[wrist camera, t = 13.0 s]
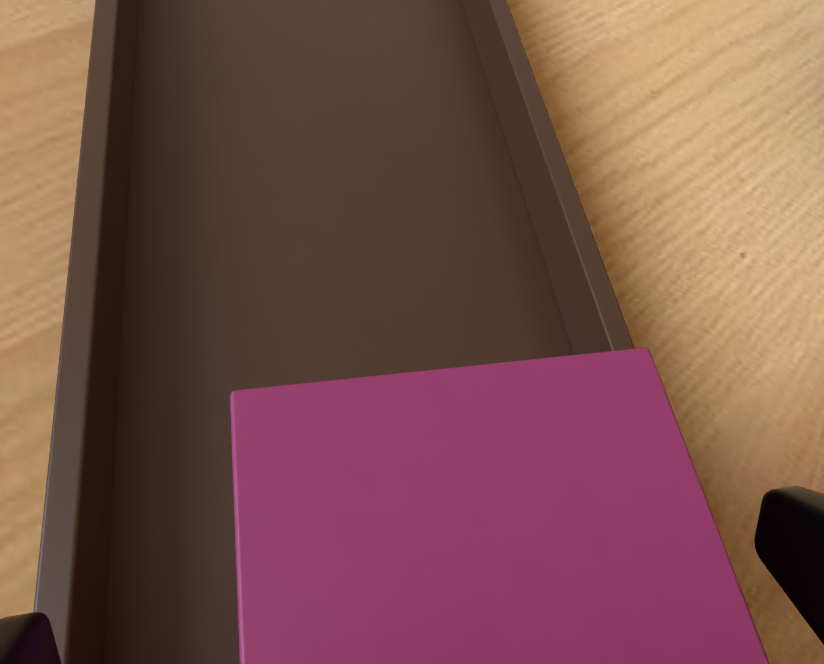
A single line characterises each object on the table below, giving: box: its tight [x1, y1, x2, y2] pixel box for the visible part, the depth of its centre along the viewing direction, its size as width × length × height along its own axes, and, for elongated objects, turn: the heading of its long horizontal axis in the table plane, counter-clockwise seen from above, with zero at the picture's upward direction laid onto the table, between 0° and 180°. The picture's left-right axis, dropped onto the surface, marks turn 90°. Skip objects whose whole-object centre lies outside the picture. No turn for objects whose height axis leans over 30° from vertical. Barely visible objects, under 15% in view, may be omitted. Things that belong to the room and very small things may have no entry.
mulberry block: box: [230, 348, 769, 664], centre depth 8 cm, size 5×5×8 cm
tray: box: [34, 0, 635, 664], centre depth 18 cm, size 41×12×3 cm, turn 10°
